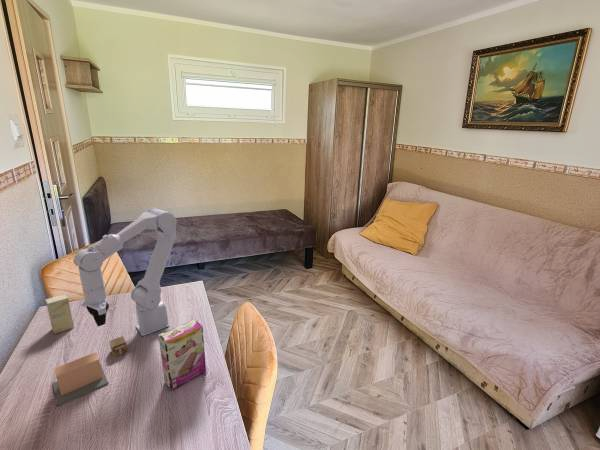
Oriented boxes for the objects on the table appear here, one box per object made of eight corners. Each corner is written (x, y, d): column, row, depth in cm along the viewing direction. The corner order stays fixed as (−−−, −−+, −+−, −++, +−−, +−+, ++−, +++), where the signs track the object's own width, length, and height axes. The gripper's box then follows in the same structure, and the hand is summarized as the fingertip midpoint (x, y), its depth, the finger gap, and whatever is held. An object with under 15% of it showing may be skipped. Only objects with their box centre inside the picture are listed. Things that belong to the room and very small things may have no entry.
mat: (100, 364, 101) (100, 363, 100) (108, 383, 93) (108, 382, 93) (53, 384, 93) (52, 383, 93) (57, 406, 86) (57, 405, 86)
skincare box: (54, 334, 115) (46, 304, 111) (52, 328, 118) (44, 299, 114) (75, 327, 119) (68, 297, 115) (72, 321, 122) (65, 293, 118)
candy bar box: (171, 392, 91) (164, 342, 86) (164, 382, 94) (156, 334, 89) (207, 371, 98) (203, 325, 93) (199, 363, 102) (194, 318, 97)
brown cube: (124, 346, 109) (122, 336, 108) (127, 352, 106) (126, 342, 105) (111, 351, 107) (109, 340, 106) (114, 357, 104) (112, 347, 102)
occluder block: (99, 370, 98) (95, 352, 96) (102, 377, 95) (98, 359, 93) (59, 386, 91) (54, 368, 90) (61, 395, 89) (56, 376, 87)
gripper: (73, 282, 103) (82, 319, 107) (83, 300, 93) (92, 340, 97) (99, 275, 108) (106, 311, 112) (110, 292, 98) (118, 330, 102)
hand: (101, 324), depth 105 cm, fingers closed
